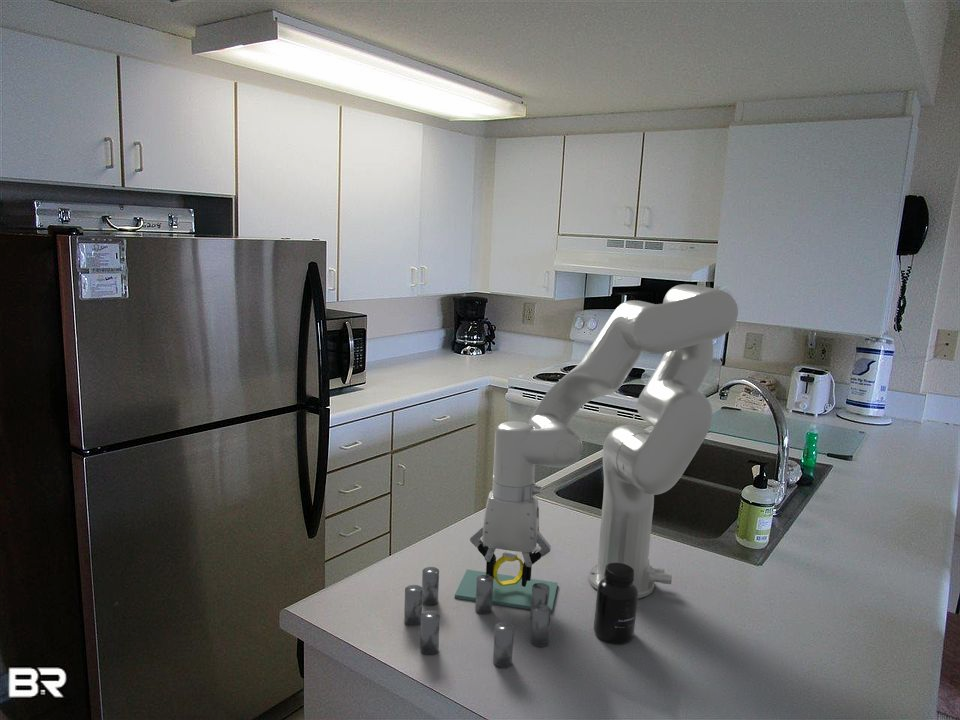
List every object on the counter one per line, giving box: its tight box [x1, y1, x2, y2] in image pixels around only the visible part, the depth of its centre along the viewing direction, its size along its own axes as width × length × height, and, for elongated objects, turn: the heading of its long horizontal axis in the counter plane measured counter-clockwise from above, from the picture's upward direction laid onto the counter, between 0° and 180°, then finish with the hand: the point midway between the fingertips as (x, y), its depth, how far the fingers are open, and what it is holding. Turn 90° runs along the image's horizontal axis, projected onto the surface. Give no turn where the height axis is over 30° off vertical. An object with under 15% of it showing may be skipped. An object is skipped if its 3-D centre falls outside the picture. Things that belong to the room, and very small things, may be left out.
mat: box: [454, 568, 559, 614], centre depth 129 cm, size 18×10×1 cm, turn 78°
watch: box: [493, 551, 524, 586], centre depth 128 cm, size 6×3×6 cm, turn 111°
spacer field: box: [403, 566, 552, 669], centre depth 115 cm, size 25×17×6 cm
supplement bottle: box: [593, 563, 639, 645], centre depth 116 cm, size 7×7×12 cm
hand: (508, 579), depth 128 cm, fingers closed on watch, 5 cm apart
